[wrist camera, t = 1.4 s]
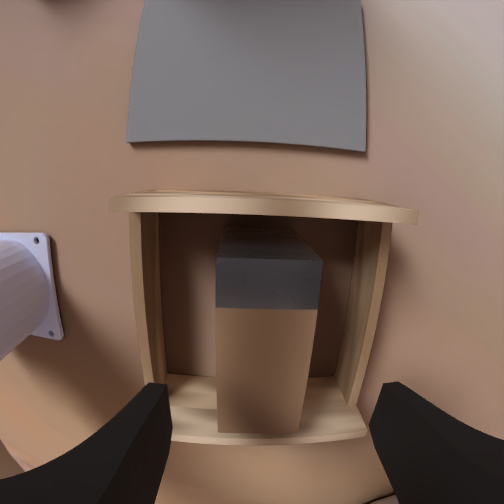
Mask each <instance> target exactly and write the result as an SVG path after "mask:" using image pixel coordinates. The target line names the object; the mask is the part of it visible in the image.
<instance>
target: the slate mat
mask: <svg viewBox="0 0 504 504" xmlns="http://www.w3.org/2000/svg"><path fill="white" fill-rule="evenodd" d="M162 141H234V142H259V143H276V144H290V145H303V146H314V147H324V148H333V149H342V150H350V151H358V152H365V149H366V71H365V50H364V34H363V22H362V11H361V1H360V0H145V1H144V6H143V11H142V16H141V21H140V26H139V32H138V38H137V44H136V50H135V57H134V64H133V72H132V80H131V88H130V98H129V109H128V121H127V137H126V142H127V143H137V142H162Z"/></svg>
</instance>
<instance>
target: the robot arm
mask: <svg viewBox="0 0 504 504" xmlns="http://www.w3.org/2000/svg"><path fill="white" fill-rule="evenodd" d="M37 238H38V239H39V243H38V242H37ZM51 331H52V332H53V333H54V334H52V332H51ZM29 335H34V336H39V337H43V338H49V339H54V340H61V339H62V338H63V336H64V333H63V328H62V323H61V318H60V313H59V308H58V302H57V296H56V290H55V283H54V276H53V268H52V259H51V249H50V239H49V236H48V235H47V234H46V233H36V232H0V361H1V360H2V359H3V358H4V357H5V356H7V355H8V354H9V353H10V352H11V351H12V350H13V349H14V348H15V347H16V346H18V345H19V344H20V343H21V342H22V341H23V340H24V339H25V338H27V337H28V336H29ZM369 428H370V432H371V436H372V439H373V443H374V446H375V449H376V451H377V454H378V456H379V458H380V461H381V463H382V465H383V467H384V470H385V472H386V474H387V476H388V478H389V481H390V483H391V485H392V487H393V490H394V492H395V495H396V497H397V500H398V503H399V504H504V440H502V439H498V438H496V437H493V436H490V435H488V434H485V433H483V432H481V431H479V430H476V429H474V428H472V427H470V426H468V425H466V424H464V423H463V422H461V421H459V420H457V419H456V418H454V417H452V416H450V415H449V414H447V413H446V412H444V411H442V410H441V409H439V408H438V407H436V406H435V405H433V404H432V403H430V402H429V401H427V400H426V399H424V398H423V397H421V396H420V395H418V394H417V393H415V392H414V391H412V390H411V389H409V388H408V387H406V386H405V385H403V384H401V383H400V382H391V383H383V386H382V389H381V392H380V395H379V398H378V400H377V403H376V406H375V409H374V412H373V415H372V417H371V420H370V423H369ZM172 430H173V425H172V418H171V410H170V403H169V395H168V386H167V384H160V383H151V382H149V383H148V384H146V385H145V386H144V387H143V388H142V390H141V391H140V392H139V393H138V394H137V395H136V396H135V397H134V398H133V399H132V400H131V401H130V402H129V403H128V404H127V405H126V406H125V407H124V408H123V409H122V410H121V411H119V412H118V413H117V414H116V415H115V416H114V417H113V418H112V419H111V420H110V421H109V422H107V423H106V424H105V425H104V426H103V427H101V428H100V429H99V430H98V431H97V432H95V433H94V434H93V435H92V436H90V437H89V438H88V439H86V440H85V441H83V442H82V443H81V444H79V445H78V446H76V447H75V448H73V449H71V450H70V451H68V452H67V453H65V454H63V455H61V456H59V457H58V458H56V459H54V460H52V461H50V462H48V463H46V464H44V465H42V466H39V467H37V468H35V469H32V470H30V471H27V472H24V473H21V474H18V475H15V476H12V477H8V478H5V479H0V504H154V503H155V500H156V496H157V493H158V489H159V486H160V482H161V479H162V475H163V472H164V468H165V465H166V461H167V458H168V454H169V450H170V443H171V437H172Z"/></svg>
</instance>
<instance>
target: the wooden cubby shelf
mask: <svg viewBox="0 0 504 504" xmlns="http://www.w3.org/2000/svg"><path fill="white" fill-rule="evenodd" d="M109 212H129V226H130V253H131V271H132V285H133V297H134V307H135V317H136V326H137V334H138V342H139V350H140V357H141V364H142V370H143V376H144V382H145V385H146V384H148V383H149V382H151V383H160V384H167V386H168V395H169V403H170V410H171V418H172V425H173V430H172V437H171V441H179V442H189V443H202V444H219V445H289V444H306V443H318V442H328V441H338V440H346V439H353V438H360V437H365V436H366V434H367V431H368V429H367V427H366V425H365V423H364V421H363V419H362V417H361V414H360V412H359V410H358V408H357V406H356V404H357V400H358V397H359V393H360V390H361V386H362V383H363V379H364V375H365V372H366V368H367V364H368V360H369V356H370V352H371V347H372V343H373V339H374V334H375V330H376V325H377V320H378V315H379V310H380V305H381V299H382V294H383V288H384V282H385V276H386V269H387V263H388V256H389V248H390V240H391V232H392V223H402V224H414V225H417V224H418V215H419V211H415V210H411V209H407V208H403V207H398V206H394V205H390V204H385V203H381V202H376V201H371V200H364V199H353V198H341V197H328V196H314V195H299V194H282V193H261V192H236V191H193V190H148V191H142V192H136V193H131V194H125V195H119V196H114V197H109ZM159 212H182V213H223V214H253V215H277V216H297V217H316V218H333V219H349V220H358V226H357V236H356V245H355V254H354V262H353V270H352V278H351V285H350V292H349V299H348V305H347V312H346V318H345V324H344V329H343V335H342V341H341V346H340V351H339V356H338V361H337V366H336V371H335V376H327V377H308V379H307V385H306V391H305V397H304V402H303V408H302V413H301V418H300V423H299V428H298V432H296V433H264V434H247V433H218V425H217V389H216V377H206V376H191V375H178V374H168V371H167V362H166V352H165V342H164V330H163V317H162V302H161V285H160V260H159Z"/></svg>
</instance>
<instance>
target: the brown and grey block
mask: <svg viewBox="0 0 504 504" xmlns="http://www.w3.org/2000/svg"><path fill="white" fill-rule="evenodd" d="M322 269H323V260H322V259H321V258H320V257H319V256H318V255H317V254H316V253H315V251H314V250H313V249H312V248H311V247H310V246H309V245H308V244H307V243H306V242H305V241H304V240H303V239H302V238H301V237H300V236H299V235H298V234H297V233H296V232H295V231H294V230H287V229H262V228H234V227H225V230H224V233H223V237H222V240H221V243H220V246H219V249H218V253H217V256H216V389H217V425H218V433H247V434H264V433H296V432H298V428H299V423H300V418H301V413H302V408H303V402H304V397H305V391H306V385H307V379H308V373H309V367H310V361H311V354H312V348H313V341H314V334H315V327H316V319H317V312H318V304H319V296H320V287H321V278H322Z"/></svg>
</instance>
